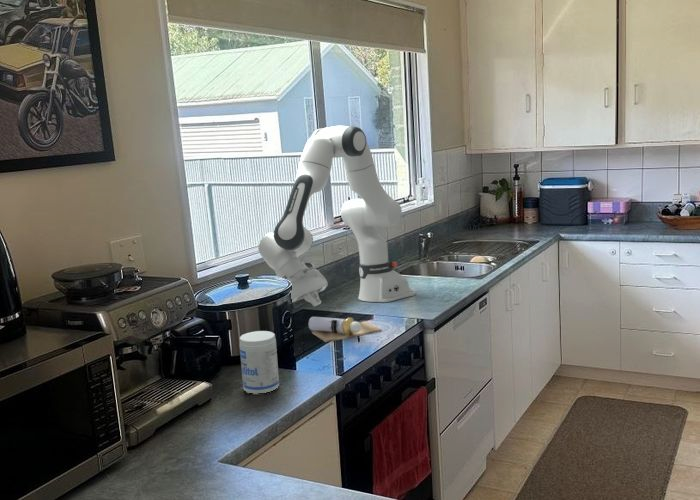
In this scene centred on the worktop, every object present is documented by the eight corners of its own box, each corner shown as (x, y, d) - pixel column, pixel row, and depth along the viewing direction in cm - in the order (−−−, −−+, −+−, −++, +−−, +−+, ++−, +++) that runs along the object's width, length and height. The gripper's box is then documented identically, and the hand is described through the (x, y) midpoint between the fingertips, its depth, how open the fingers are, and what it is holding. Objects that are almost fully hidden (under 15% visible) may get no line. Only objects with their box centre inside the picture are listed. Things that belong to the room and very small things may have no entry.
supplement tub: (236, 393, 182) (231, 340, 179) (255, 380, 190) (250, 329, 188) (268, 397, 178) (263, 342, 175) (286, 383, 186) (281, 331, 184)
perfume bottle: (315, 313, 234) (364, 316, 223) (316, 330, 235) (365, 334, 223) (305, 316, 229) (354, 319, 218) (306, 333, 230) (355, 338, 218)
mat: (366, 322, 238) (366, 321, 238) (381, 331, 227) (381, 329, 227) (312, 333, 231) (311, 331, 230) (325, 342, 220) (325, 340, 220)
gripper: (277, 274, 224) (303, 306, 220) (315, 261, 241) (340, 291, 237) (268, 286, 227) (293, 318, 224) (306, 273, 244) (330, 302, 240)
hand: (318, 304), depth 230 cm, fingers closed
